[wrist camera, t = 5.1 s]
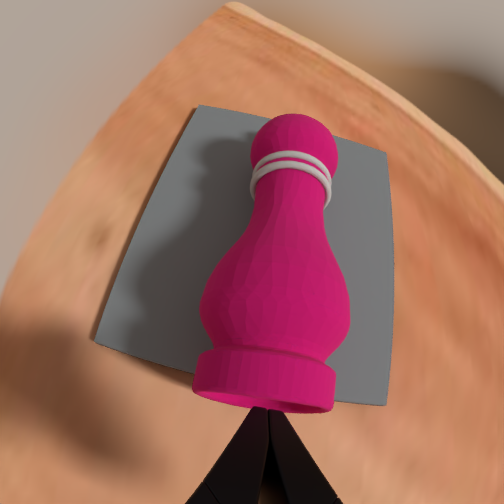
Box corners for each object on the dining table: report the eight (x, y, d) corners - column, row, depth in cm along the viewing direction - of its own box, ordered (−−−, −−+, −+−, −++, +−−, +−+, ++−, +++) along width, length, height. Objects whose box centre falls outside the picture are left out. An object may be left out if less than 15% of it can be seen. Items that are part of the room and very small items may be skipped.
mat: (381, 405, 18) (386, 405, 17) (96, 343, 17) (93, 341, 17) (383, 156, 28) (386, 152, 28) (199, 109, 28) (199, 104, 27)
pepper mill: (162, 388, 15) (236, 130, 25) (283, 415, 17) (308, 169, 28) (218, 383, 9) (283, 65, 20) (378, 411, 11) (363, 117, 22)
